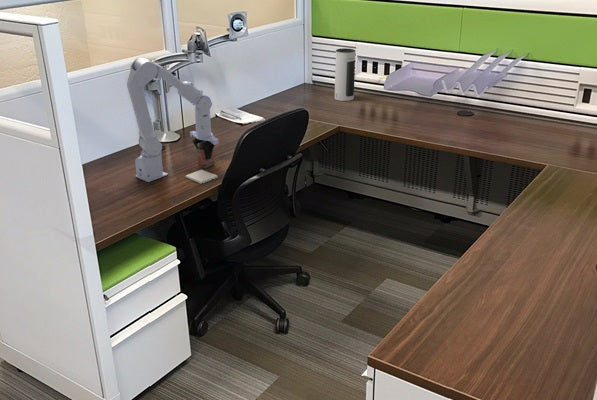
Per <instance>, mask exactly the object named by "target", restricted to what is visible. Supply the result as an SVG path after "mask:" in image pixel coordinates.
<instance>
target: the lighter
mask: <svg viewBox="0 0 597 400" xmlns="http://www.w3.org/2000/svg"><path fill="white" fill-rule="evenodd" d="M204 142H206V141H202V142H201V143H198V144H197V147H200V148H196V149H195V152H196V162H197V163H196V164H197V167H196V168H197V169H198V170H203V169H205V168H209V167H210V166H212V165H215V160H214V158H215V157H214V150H213V151H212V155H211V159H208V160H207V159H206V158H205V151H204V148H203V146H202V143H204Z"/></svg>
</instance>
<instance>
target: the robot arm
mask: <svg viewBox="0 0 597 400" xmlns="http://www.w3.org/2000/svg"><path fill="white" fill-rule="evenodd" d="M154 79H156V80H160V79H163V81H165V82H167V83H168V84H169V85H171V86H172V87H174V88H175V89H177V91H176V92H177V94H178V95H179V96H180V97H182V98H183V99H184V100H186V101H187V102H189V103H190V104H192V105H193V106H194V118H195V120H194V121H195V130H192V131H189V136H190V138H193V137H194V139H192V141H191V142H192V143H193V145H194V146H195V148H196V149H197V148H200V147H197V144H198V143H201V142H202V141H206V142H204V143H202V146H203V148H204V151H205V158H206V159H207V160H208V159H211V155H212V151H213V152H214V148H215V146H216V145H219V138H216V137H215V136H214V133H213V132H212V125H211V124H212V123H211V108H212V107H213V106H212V105H213V102H212V100H211V97H210V96H208V95H206V94H205V93H204V91H203V90H202V89H198V88H197V87H196V86H194V83H193V82H191V81H187V80H185V81H181V80H180V79H179V78H178V77H176V76H175V75H174V74H172V73H171V72H170V71H169V70H167V69H166V68H164V67H163V66H161V65H160V64H157V63H156V62H154V61H152V60H149V59H148V58H147V57H145V56H139V57H137V58H136V59H134V60H133V62H132V63H131V65H130V71H129V74H128V78H127V83H126V87H127V90H128V94H129V96H130V97H129V98H130V101H131V104H132V108H133V111H134V115H135V119H136V122H137V126H138V135H139V138H138V145H139V147H141V152H140V156H137V157H136V158H135V160H134V164H135V170H136V171H135V172H136V175H135V177H136V178H138V179H139V180H142V181H144V182H147V183H150V182H152V181H155V180H157V179H161V178H163V177H166V176H168V175H169V174H168V173H167V172H164V171H163V170H164V167H163V158H162V150H163V145H162V143H161V141H159V139H158V136H157V134H156V131H155V130H154V125H153V123H152V119H151V115H150V111H149V107H148V104H147V99H146V96H145V93H144V92H145V91H144V88H145V87H146V85H147V84H148V83H149V82H151V81H152V80H154Z"/></svg>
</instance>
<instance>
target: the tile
mask: <svg viewBox="0 0 597 400" xmlns="http://www.w3.org/2000/svg"><path fill="white" fill-rule="evenodd" d="M218 177H219V176H218V175H216V174H214V173H212V172H209V171H207V170H204V169H198V170H197V171H194V172H191V173H189V174H186V175H185V178H186V179H189V180H191V181H194V182H196V183H197V184H201V185H203V184H204V183H207V182H210V181H212V179H213V180H215V179H217V178H218ZM202 183H203V184H202Z"/></svg>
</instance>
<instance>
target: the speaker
mask: <svg viewBox="0 0 597 400" xmlns="http://www.w3.org/2000/svg"><path fill="white" fill-rule="evenodd" d="M334 70H335V71H334V73H335V74H334V100H335V101H339V102H350V101H353V100H354V98H355V74H356V73H355V72H356V49H353V48H338V49H337V48H336V49H335V69H334Z"/></svg>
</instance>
